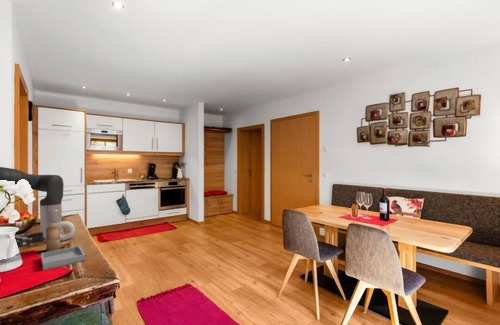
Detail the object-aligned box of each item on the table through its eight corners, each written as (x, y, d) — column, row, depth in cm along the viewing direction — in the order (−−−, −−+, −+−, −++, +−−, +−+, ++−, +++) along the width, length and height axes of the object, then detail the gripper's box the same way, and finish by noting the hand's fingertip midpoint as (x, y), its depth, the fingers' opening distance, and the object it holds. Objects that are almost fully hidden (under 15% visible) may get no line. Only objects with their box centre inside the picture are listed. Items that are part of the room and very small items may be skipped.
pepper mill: (46, 250, 116) (45, 224, 116) (59, 247, 119) (59, 222, 119) (46, 253, 112) (46, 226, 112) (60, 250, 116) (60, 224, 115)
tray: (41, 259, 105) (41, 253, 105) (79, 251, 114) (79, 245, 114) (43, 270, 95) (42, 263, 95) (85, 260, 104) (85, 254, 103)
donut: (74, 237, 134) (74, 218, 134) (75, 239, 131) (75, 220, 131) (51, 241, 128) (50, 222, 128) (51, 243, 125) (50, 223, 125)
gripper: (-11, 240, 97) (43, 231, 108) (-7, 232, 108) (42, 225, 119) (-10, 259, 97) (44, 249, 108) (-7, 249, 108) (42, 240, 119)
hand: (43, 236), depth 113 cm, fingers open, 8 cm apart
